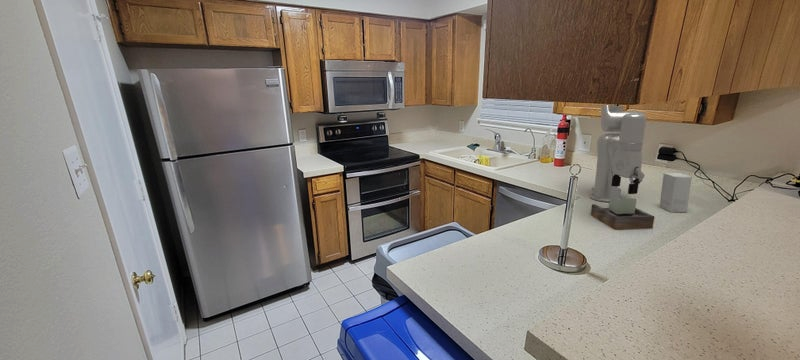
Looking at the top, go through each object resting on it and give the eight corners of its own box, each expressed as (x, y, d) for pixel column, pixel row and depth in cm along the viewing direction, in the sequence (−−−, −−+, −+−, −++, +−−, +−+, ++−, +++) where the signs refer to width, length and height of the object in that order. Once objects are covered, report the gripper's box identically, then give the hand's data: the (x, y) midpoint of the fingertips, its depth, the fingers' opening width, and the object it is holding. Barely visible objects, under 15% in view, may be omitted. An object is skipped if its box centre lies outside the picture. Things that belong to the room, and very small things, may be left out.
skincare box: (686, 212, 134) (693, 176, 130) (668, 212, 135) (675, 176, 132) (674, 206, 142) (680, 172, 138) (657, 206, 143) (663, 172, 140)
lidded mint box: (608, 212, 130) (611, 185, 127) (625, 211, 130) (629, 185, 127) (616, 216, 125) (619, 189, 122) (634, 216, 125) (638, 188, 122)
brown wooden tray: (590, 215, 136) (591, 204, 135) (623, 213, 136) (625, 203, 135) (615, 229, 120) (617, 217, 119) (652, 228, 120) (654, 216, 119)
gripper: (605, 143, 129) (600, 184, 134) (636, 151, 113) (629, 197, 117) (624, 142, 129) (618, 183, 134) (657, 150, 113) (649, 196, 117)
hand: (623, 189), depth 126 cm, fingers open, 9 cm apart
